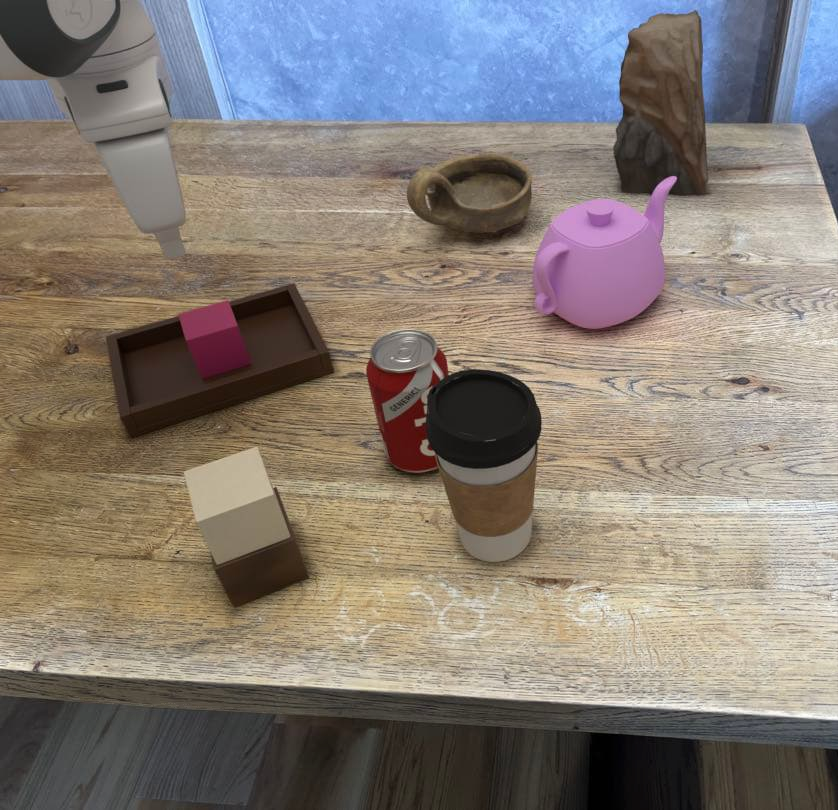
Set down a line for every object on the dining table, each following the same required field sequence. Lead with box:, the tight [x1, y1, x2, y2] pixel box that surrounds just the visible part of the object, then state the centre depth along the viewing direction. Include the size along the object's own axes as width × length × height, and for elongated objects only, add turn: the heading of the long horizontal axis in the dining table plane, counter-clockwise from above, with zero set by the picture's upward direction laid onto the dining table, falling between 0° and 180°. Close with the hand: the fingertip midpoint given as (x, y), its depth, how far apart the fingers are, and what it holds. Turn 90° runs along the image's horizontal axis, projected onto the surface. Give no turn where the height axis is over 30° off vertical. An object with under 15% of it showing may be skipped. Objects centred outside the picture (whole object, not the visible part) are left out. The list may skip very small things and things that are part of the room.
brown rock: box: [612, 9, 709, 196], centre depth 107 cm, size 13×13×20 cm
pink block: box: [177, 299, 251, 379], centre depth 83 cm, size 5×5×5 cm
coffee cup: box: [425, 368, 543, 563], centre depth 63 cm, size 8×8×15 cm
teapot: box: [531, 176, 677, 330], centre depth 88 cm, size 20×13×12 cm, turn 130°
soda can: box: [365, 328, 450, 474], centre depth 71 cm, size 7×7×12 cm
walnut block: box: [209, 486, 310, 609], centre depth 64 cm, size 6×6×5 cm
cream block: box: [183, 446, 290, 565], centre depth 61 cm, size 6×6×5 cm
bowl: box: [406, 152, 533, 234], centre depth 101 cm, size 14×18×10 cm
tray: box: [105, 282, 335, 439], centre depth 85 cm, size 20×14×3 cm
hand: (167, 230), depth 75 cm, fingers open, 8 cm apart
